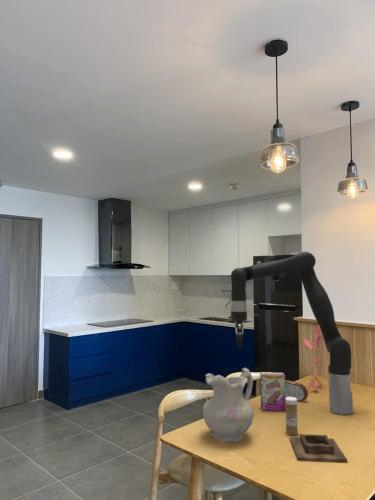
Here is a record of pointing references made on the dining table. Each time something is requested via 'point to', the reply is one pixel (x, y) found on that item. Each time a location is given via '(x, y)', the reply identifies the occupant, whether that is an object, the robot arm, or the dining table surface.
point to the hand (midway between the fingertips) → (239, 344)
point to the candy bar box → (272, 391)
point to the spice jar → (291, 415)
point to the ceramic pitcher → (229, 407)
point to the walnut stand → (316, 448)
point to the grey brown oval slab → (296, 390)
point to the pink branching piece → (308, 345)
